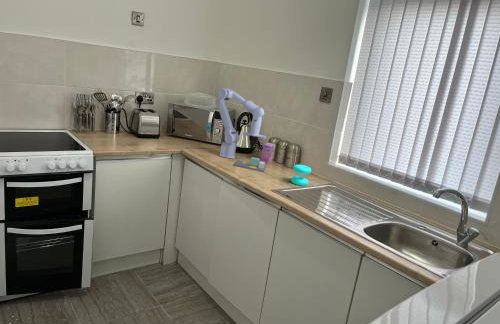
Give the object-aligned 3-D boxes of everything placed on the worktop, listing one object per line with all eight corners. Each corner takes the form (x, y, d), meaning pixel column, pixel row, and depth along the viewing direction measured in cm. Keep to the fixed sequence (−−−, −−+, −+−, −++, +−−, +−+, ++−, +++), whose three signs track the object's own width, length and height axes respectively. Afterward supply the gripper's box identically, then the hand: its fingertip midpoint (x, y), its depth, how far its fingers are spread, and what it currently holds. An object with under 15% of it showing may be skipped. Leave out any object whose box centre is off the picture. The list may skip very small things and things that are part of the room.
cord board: (234, 165, 227) (235, 159, 226) (237, 161, 239) (238, 155, 238) (264, 172, 226) (265, 165, 225) (265, 167, 237) (266, 161, 236)
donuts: (307, 165, 219) (314, 170, 210) (303, 181, 222) (310, 187, 212) (291, 163, 216) (298, 168, 207) (287, 179, 219) (294, 185, 209)
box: (268, 163, 248) (271, 146, 246) (259, 161, 250) (263, 144, 247) (272, 161, 258) (275, 144, 255) (264, 159, 260) (267, 142, 257)
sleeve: (249, 164, 230) (251, 158, 229) (250, 162, 234) (252, 157, 233) (258, 166, 229) (259, 160, 228) (258, 164, 234) (260, 158, 233)
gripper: (243, 125, 233) (239, 147, 237) (266, 130, 232) (262, 151, 235) (244, 124, 240) (241, 145, 243) (267, 128, 239) (263, 149, 242)
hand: (251, 148), depth 240 cm, fingers closed
